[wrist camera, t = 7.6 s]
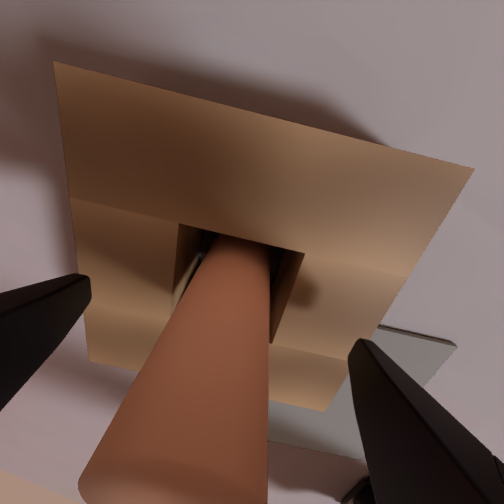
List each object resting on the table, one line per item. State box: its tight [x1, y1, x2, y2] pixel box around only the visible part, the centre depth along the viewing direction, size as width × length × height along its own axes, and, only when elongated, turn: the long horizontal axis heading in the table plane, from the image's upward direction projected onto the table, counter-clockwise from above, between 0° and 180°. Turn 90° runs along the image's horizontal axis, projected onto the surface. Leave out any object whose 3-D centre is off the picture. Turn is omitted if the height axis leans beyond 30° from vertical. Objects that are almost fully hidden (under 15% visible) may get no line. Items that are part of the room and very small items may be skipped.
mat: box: [268, 326, 457, 460], centre depth 17 cm, size 14×10×1 cm
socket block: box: [53, 61, 475, 412], centre depth 11 cm, size 12×12×4 cm
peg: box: [78, 233, 270, 504], centre depth 8 cm, size 3×3×10 cm
